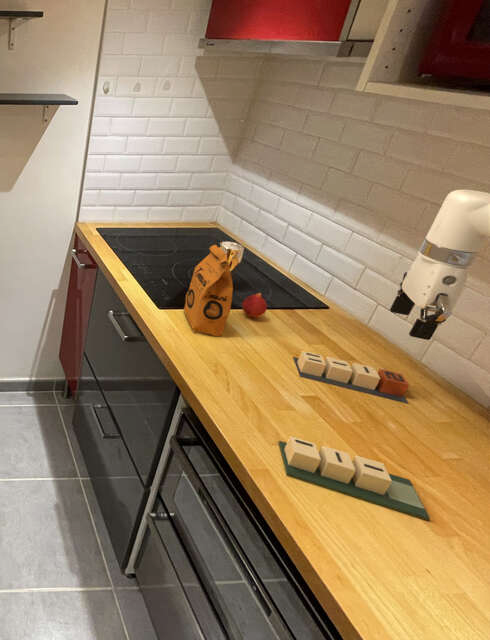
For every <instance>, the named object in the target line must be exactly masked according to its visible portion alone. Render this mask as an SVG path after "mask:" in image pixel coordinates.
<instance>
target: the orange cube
mask: <svg viewBox="0 0 490 640" xmlns="http://www.w3.org/2000/svg"><path fill="white" fill-rule="evenodd" d="M377 373H378V375H379V377H380V380H379V382H378V384H377V387H378V389H379V391H380V392H384V393H388V394H392V395H396V396H400V397H403V396H404V397H405V394H406V393H407V390H408V388H409V387H410V384H409V382H408V381H407V379H406V378H405V376H404V375H403V373H400V372H395V371H390V370H387V369H383V368H379V369H378V371H377Z"/></svg>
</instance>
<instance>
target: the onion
mask: <svg viewBox="0 0 490 640" xmlns="http://www.w3.org/2000/svg"><path fill="white" fill-rule="evenodd" d="M241 307H242V308H241V309H242V311H243V312H244V314H246V315H247V316H248V317H249V318H252V319H253V318H256V317H257V318H258V317H261V316H263V315H265V314H266V312H267V310H268V304H267V302H266V300H265V299H264V298H263V297H262V293H260V292H257V293H256V294H251V295H249V296H247V297H246V298H244V300H243V301H242V303H241Z"/></svg>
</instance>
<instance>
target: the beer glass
mask: <svg viewBox="0 0 490 640" xmlns="http://www.w3.org/2000/svg"><path fill="white" fill-rule="evenodd" d="M218 247H219V248H220V249H221V250H222V251H223V252H225V253H226V254H227V258H228V263H229V269H230V273H231V278H232V279H234V276H235V275H236V273H237V271H238V270H239V267H240V265H241V262H242V259H243V254H244V250H245V247H244V246H243V245H241V244H240V243H237V242H234V241H227V240H226V241H221V242H219V245H218Z"/></svg>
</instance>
